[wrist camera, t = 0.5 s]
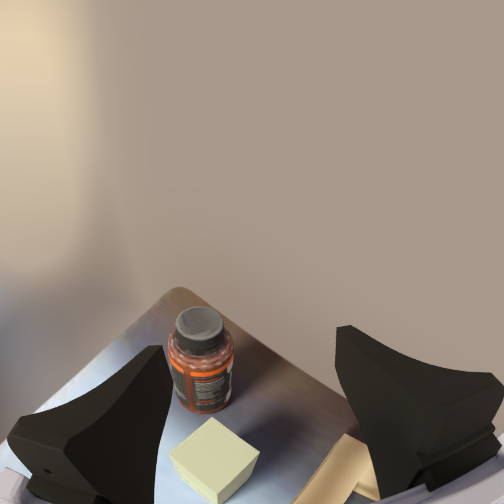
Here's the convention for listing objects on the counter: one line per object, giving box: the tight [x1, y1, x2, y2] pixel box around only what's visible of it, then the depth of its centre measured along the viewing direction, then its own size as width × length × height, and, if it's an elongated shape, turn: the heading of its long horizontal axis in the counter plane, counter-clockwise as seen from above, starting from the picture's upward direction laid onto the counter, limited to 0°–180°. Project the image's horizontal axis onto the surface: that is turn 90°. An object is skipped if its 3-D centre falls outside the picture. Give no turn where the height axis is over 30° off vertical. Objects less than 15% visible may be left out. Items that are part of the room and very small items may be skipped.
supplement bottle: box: [168, 306, 234, 414], centre depth 26 cm, size 6×6×11 cm
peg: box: [169, 417, 260, 504], centre depth 19 cm, size 4×4×8 cm
